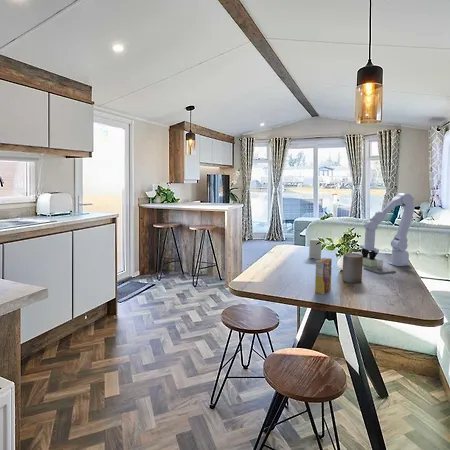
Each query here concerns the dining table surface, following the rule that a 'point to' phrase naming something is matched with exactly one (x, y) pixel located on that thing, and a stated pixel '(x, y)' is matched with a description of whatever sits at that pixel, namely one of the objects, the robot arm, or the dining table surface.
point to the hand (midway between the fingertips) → (368, 261)
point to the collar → (370, 262)
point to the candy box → (323, 275)
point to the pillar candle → (352, 267)
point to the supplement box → (315, 249)
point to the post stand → (380, 268)
